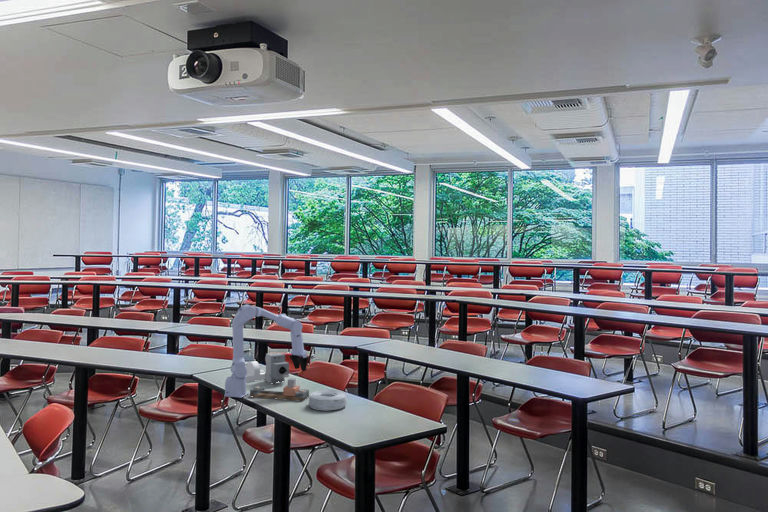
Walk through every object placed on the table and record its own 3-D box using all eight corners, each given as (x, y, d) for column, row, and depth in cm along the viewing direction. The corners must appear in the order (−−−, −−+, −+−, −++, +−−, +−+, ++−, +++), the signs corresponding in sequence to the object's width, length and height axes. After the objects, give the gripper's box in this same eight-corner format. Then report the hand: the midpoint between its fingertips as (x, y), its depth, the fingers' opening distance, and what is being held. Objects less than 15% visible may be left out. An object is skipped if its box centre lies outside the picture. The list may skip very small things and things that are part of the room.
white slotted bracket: (271, 379, 303) (271, 360, 303) (242, 384, 290) (242, 364, 290) (262, 376, 310) (262, 358, 310) (233, 380, 297) (233, 362, 297)
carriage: (283, 395, 261) (283, 380, 261) (287, 392, 267) (288, 377, 267) (295, 396, 260) (295, 381, 260) (299, 393, 266) (299, 378, 266)
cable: (340, 400, 262) (341, 387, 262) (351, 410, 246) (352, 396, 246) (304, 403, 256) (305, 390, 256) (313, 413, 239) (314, 399, 239)
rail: (249, 397, 263) (250, 389, 263) (256, 393, 271) (256, 385, 271) (303, 401, 258) (303, 393, 258) (308, 397, 266) (309, 389, 266)
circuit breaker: (277, 386, 285) (278, 357, 285) (264, 381, 296) (265, 353, 296) (290, 384, 290) (290, 356, 290) (277, 379, 301) (277, 352, 301)
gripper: (311, 343, 274) (314, 369, 275) (298, 340, 286) (301, 365, 287) (298, 346, 270) (301, 373, 271) (285, 343, 282) (289, 368, 283)
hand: (300, 369), depth 279 cm, fingers open, 7 cm apart
